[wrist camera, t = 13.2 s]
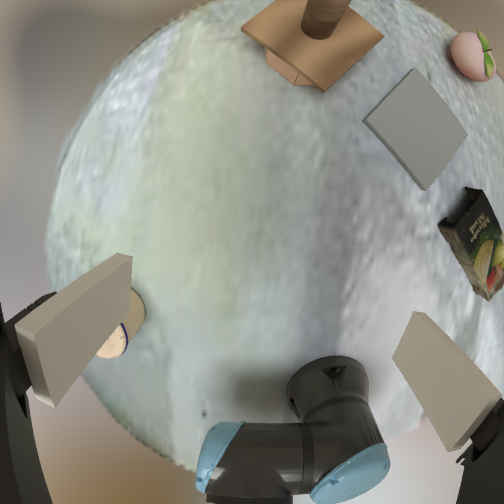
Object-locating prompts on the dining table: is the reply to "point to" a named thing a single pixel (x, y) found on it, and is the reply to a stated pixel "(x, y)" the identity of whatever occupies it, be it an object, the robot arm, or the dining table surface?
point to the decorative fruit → (473, 56)
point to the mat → (417, 128)
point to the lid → (314, 37)
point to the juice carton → (478, 245)
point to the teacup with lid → (124, 329)
